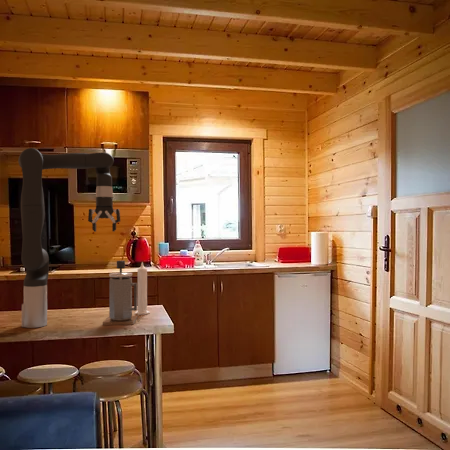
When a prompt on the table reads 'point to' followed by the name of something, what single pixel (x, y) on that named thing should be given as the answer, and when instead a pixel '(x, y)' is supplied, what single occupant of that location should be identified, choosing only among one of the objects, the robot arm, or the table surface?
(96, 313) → the table surface
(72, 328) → the table surface
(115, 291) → the press
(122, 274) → the plunger
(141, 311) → the candle
